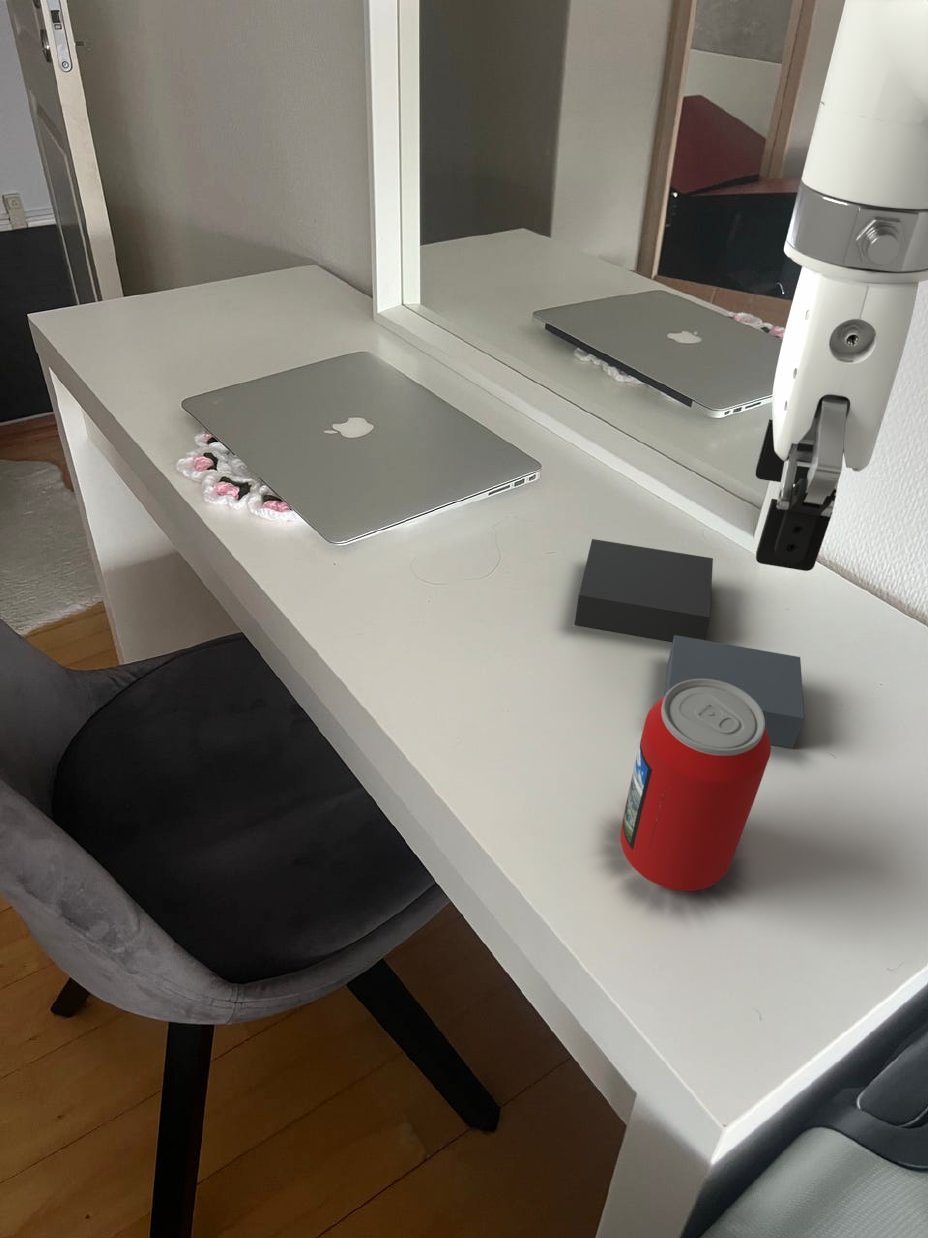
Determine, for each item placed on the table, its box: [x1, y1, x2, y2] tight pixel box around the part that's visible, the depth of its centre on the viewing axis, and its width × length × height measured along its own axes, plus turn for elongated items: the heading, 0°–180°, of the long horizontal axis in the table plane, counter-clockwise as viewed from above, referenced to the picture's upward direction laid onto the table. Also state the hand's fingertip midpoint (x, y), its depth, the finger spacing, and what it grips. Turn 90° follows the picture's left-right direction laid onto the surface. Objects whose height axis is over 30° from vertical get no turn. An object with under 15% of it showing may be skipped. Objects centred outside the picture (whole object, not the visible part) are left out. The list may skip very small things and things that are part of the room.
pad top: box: [663, 635, 805, 749], centre depth 65 cm, size 9×6×3 cm
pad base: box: [574, 538, 714, 643], centre depth 74 cm, size 10×8×3 cm
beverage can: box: [619, 679, 772, 892], centre depth 52 cm, size 7×7×12 cm
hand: (781, 519), depth 56 cm, fingers open, 9 cm apart
